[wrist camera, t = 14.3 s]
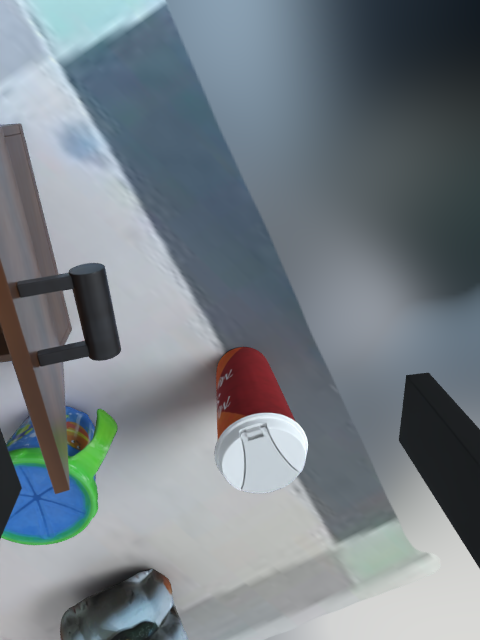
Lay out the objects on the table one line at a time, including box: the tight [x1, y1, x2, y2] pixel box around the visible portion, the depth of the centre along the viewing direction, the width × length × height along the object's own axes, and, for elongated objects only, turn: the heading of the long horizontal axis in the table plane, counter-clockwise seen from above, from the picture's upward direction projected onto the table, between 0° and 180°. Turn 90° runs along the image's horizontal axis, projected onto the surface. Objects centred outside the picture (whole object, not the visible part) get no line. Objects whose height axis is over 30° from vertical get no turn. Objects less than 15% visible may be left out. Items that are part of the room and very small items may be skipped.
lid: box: [0, 126, 121, 494], centre depth 29 cm, size 16×18×5 cm
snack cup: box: [1, 406, 117, 545], centre depth 44 cm, size 16×10×10 cm
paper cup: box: [214, 347, 308, 494], centre depth 42 cm, size 8×8×14 cm
